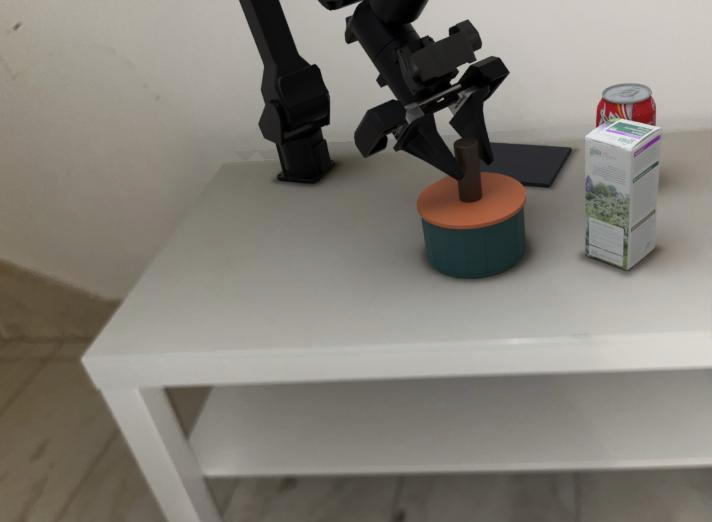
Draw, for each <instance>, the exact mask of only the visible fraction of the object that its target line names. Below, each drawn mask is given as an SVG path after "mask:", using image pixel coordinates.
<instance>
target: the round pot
mask: <svg viewBox="0 0 712 522" xmlns="http://www.w3.org/2000/svg"><path fill="white" fill-rule="evenodd" d="M420 217H421V216H420ZM525 223H526V222H525V205H524V206H523V207H522V209H521V210H520V211H519V212H518V213H516V214H515V215H514V216H512V217H510V218H509V219H507V220H505V221H502V222H500V223H497V224H494V225H490V226H486V227H481V228H474V229H450V228H444V227H440V226H436V225H433V224H431V223H429V222H427V221H426V220H424V219H423V218H422V217H421V226H422V231H423V239H424V245H425V252H426V253H425V254H426V258H427V260H428V262H429V264H430V266H431V267H432V268H433V269H434V270H436V271H438V272H439V273H441V274H444V275H446V276H449V277H454V278H459V279H478V278H486V277H490V276H495V275H498V274H500V273H504V272H506V271H507V270H510V269H511V268H512V267H514V266H515V265H517V264H518V263H519V262H520V261H521V260H522V258H523V257H524V255H525V252H526V247H527V246H526V245H527V244H526V225H525Z"/></svg>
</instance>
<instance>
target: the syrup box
mask: <svg viewBox="0 0 712 522" xmlns="http://www.w3.org/2000/svg"><path fill="white" fill-rule="evenodd" d="M662 132H663V128H662V127H661V126H657V125H656V126H651V125H647V124H643V123H639V122H634V121H630V120H625V119H621V118H616V117H615V118H612V119H610V120H609V121H606V122H605V123H603V124H601V125H600V126H598V127H597V128H596V127H595V128H594V129H593V130H591V131H590V132H589V133H588V134H586V135H585V136H584V218H585V219H584V224H585V225H584V232H585V233H584V235H585V239H584V240H585V243H584V246H585V248H584V249H585V256H587V257H589V258H592V259H595V260H597V261H601V262H603V263H606V264H609V265H611V266H614V267H617V268H619V269H622V270H625V271H629V270H630V269H631V268H632V267H634V266H636V265H637V264H638V263H639V262H640V261H642V259H644V258H645V257H646V256H648V255H649V254H650V253H651V252H652V251H653V250H655V249H656V248H655V247H656V234H657V233H656V231H657V229H656V227H657V210H658V195H659V180H660V165H661V155H662V154H661V152H662V135H663V133H662Z"/></svg>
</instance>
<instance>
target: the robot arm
mask: <svg viewBox="0 0 712 522" xmlns="http://www.w3.org/2000/svg"><path fill="white" fill-rule="evenodd" d="M429 1H430V0H317V2H318V3H319V4H320V5H321V6H322V7H323V8H324V9H326V10H327V11H330V12H332V11H337V10H341V9H343V8H346V7H349V6H352V5H355V4H357V6H356V7H355V8H354V11H353V13H352V15H348V16H346V17H345V19H344V20H345V30H344V33H343V34H344V43H346V44H347V45H351V44H353V43H356V42H358V43H359V46H361V48H362V49H363V51H364V52H365V54H366V55H367V57H368V58H369V60H370V62H371V63H372V64H373V65H374V67H375V69H376V71H377V72H378V73H379V74H378V75H377V77H376V79H375V81H376V83H377V84H378V86H379V88H380V89H382V88H384V87H386V86H387V87H388V88H389V90H390V91H391V93H392V94H393V96H394V97H395V99H394V98H392V99H389V100H387V101H385V102H383V103H380V104H378V105H376V106H374V107H371V108H369V109H367V110H366V112H365V114H364V115H363V116H362V119H361V120H360V122H359V124H358V125H357V127H356V129H355V131H354V133H353V140H354V145H355V147H356V148H357V150H358V152H359V153H360V154H361V156H362V157H363V159H367V158H370V157H372V156H374V155H376V154H378V153H381V152H382V151H385V150H386V149H387V147H388V142H389V141H388V140H389V137H388V135H390V134H392V136H393V137H394V139H395V140H396V143H395V144H394V145H393V146H392V149H393V151H394V152H395V153H397V152H400V151H402V152H405V153H406V154H409V155H411V156H413V157H415V158H417V159H419V160H422V161H423V162H425V163H427V164H429V165H430V166H432V167H433V168H435V169H437V170H439V171H440V172H442V173H443V174H446V175H447V176H448V177H452V178H454V179H455V180H457V181H461V180H462V179H463V178H464V176H465V175H464V173H463V171H462V169H461V167H460V165H459V163H458V162H457V160H456V159H455V155H454V154H453V153H452V151H451V149H450V148H449V147H448V145H447V144H446V142H445V140H444V139H443V138H442V136H441V134H440V132H439V131H438V128H437V123H436V119H435V118H436V117H435V113H437V112H440V111H442V110H444V109H446V108H448V109H449V111H450V112H451V114H452V115H453V116H452V117H451V118H450V120H449V121H448V124H449V125H450V127H451V128H452V129H453V131H455V132H456V133H457V134H458V135H459V137H460V139H461V138H466V137H470V138H475V139H476V140H477V141H478V150H479V158H480V159H481V160H482V161H483V162H484V163H485V164H486V165H491V164H492V163H493V162H494V156H493V153H492V149H491V145H490V142H491V141H490V138H489V137H490V136H489V133H488V129H487V125H486V121H485V114H484V105H485V102H486V101H488V100H489V99H490V98H491V97H492V96H493V94H494V93H495V92H496V91H497V89H498V88H499V87H500V86H501V85H502V84H503V82H504V81H505V80H506V79H507V78H508V76H509V75H510V74H511V72H510V70H509V69H508V67H507V66H506V64H505V62H504V61H503V60H502V58H501V57H500V56H499V57H498V56H495V55H490V56H488V57H485V58H483V59H481V60H478V59H477V57H476V54H475V52H477V51H479V50H481V49H482V47H483V41H482V37H481V35H480V32H479V30H478V29H477V28H476V27H475V26H474V24H473V23H472V21H470V19H469V18H467V19H465V20H463V21H459V22H457V23H456V24H454V25H452V26H450V27H448V36H446V37H444V38H441V39H439V40H437V41H436V40H435V39H434V38H433V37H431V36H430V35H429V34H427V35H425V36H422V37H421V36H420V34H419V33H418V32H417V30H416V29H415V27H414V26H413V24H412V23H414V22H416V21H417V20H419V18H420V16H421V15H422V13H423V12H424V10H425V8H426V7H427V5H428V3H429ZM238 2H239V5H240V7H241V9H242V12H243V14H244V18H245V20H246V23H247V25H248V28H249V30H250V33H251V36H252V38H253V41H254V43H255V46H256V49H257V52H258V53H259V57H260V59H261V62H262V66H263V70H262V77H261V84H260V92H261V96H262V100H263V103H264V107H263V109H262V112H261V114H260V117H259V120H258V123H257V125H258V128H259V130H260V133H261V134H262V137H263V139H265V140H266V141H268V142H271V143H273V144H275V148H276V152H277V156H278V159H279V163H280V164H279V165H280V168H281V171H280V172H279V173H278V174H276V179H277V180H281V181H290V182H291V181H292V182H302V183H316V182H317V181H318V180H319V179H321V178H322V177H323V176H324V175H325V174H326V173H327V172H328V171H329V170H331V168H332V167H334V165H336V160H335V159H333V158H332V159H331V154H330V150H329V145H328V140H327V139H326V138H325V137H324V133H323V129H322V128H323V127H327V126H330V125H331V95H330V91H329V89H328V88H327V86H326V83H325V81H324V78H323V75H322V74H323V73H322V70H321V68H320V67H319V65H317V64H316V63H312V64H311V63H309V62H308V61H307V60H306V59H305V58H304V57H303V56H302V55H300V53H299V50H298V48H297V45H296V41H295V39H294V37H293V34H292V31H291V28H290V26H289V23H288V20H287V18H286V15H285V12H284V10H283V9H284V8H283V7H282V3H281V1H280V0H238ZM467 63H468V64H470V65H469V66H468V67H467V68H466V70H465V71H464V72H463V74H462V75H461V76H460V78H459V79H458V81H457V82H455V83H451V81H452V80H454V79H456V77H458V74H459V73H460V70H459V69H458V68H459V67H462V66H463V65H466V64H467Z"/></svg>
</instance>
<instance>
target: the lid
mask: <svg viewBox="0 0 712 522" xmlns="http://www.w3.org/2000/svg"><path fill="white" fill-rule="evenodd" d="M452 145H453V153H454V154H453V156H454V157H455V159H456V160H457V162H458V163H459V165H460V167H461V169H462V171H463V173H464V175H465V176H464V178H463V179H462V180H461V181H457V180H455V179H454V178H452V177H450V176H447V177H444V178H441V179H438V180H437V181H435V182H433V183H431V184H430V185H428V186H427V187H426V188H424V189H423V190H422V191H421V192H420V194H419V195H418V197H417V199H416V210H417V213H418V214H419V216H420V217H422V218H423V219H424V220H426V221H427V222H429V223H431V224H433V225H436V226H440V227H444V228H450V229H474V228H481V227H486V226H490V225H494V224H497V223H500V222H502V221H505V220H507V219H509V218H510V217H512V216H514V215H515V214H516V213H518V212H519V211H520V210H521V209H522V207H523V206H524V207H525V204H526V201H527V190H526V188H525V187H524V185H522V184H521V183H520V182H519V181H517V180H515V179H514V178H512V177H509V176H506V175H502V174H497V173H490V172H480V161H479V150H478V141H477V140H476V139H475V138H470V137H466V138H461V137H460V138H457V139H456V140H455V141H454V142H453V143H452Z"/></svg>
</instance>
